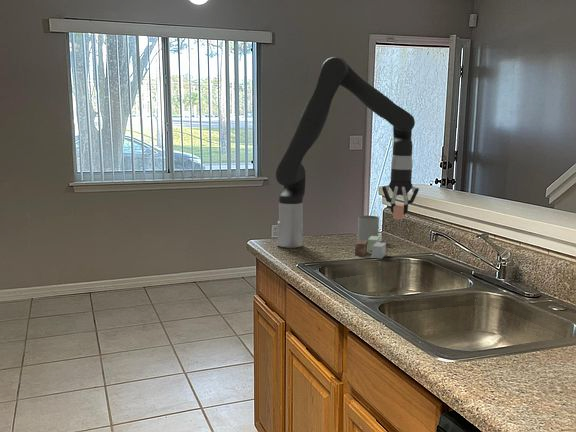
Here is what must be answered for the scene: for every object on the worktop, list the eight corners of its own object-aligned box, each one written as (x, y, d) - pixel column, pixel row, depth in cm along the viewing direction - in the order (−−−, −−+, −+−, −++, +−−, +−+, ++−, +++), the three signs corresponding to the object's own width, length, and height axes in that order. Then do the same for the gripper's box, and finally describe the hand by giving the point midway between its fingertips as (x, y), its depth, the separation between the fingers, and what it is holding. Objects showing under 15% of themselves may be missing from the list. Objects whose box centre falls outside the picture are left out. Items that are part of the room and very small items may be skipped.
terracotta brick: (393, 218, 206) (393, 206, 205) (395, 215, 212) (396, 203, 211) (402, 219, 205) (403, 207, 204) (404, 215, 211) (405, 204, 210)
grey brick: (372, 258, 202) (372, 245, 201) (376, 254, 208) (376, 242, 207) (381, 258, 200) (382, 246, 200) (385, 254, 207) (386, 242, 206)
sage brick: (367, 250, 213) (367, 239, 212) (370, 247, 220) (371, 235, 219) (376, 251, 212) (377, 240, 211) (379, 247, 219) (380, 236, 218)
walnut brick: (355, 255, 206) (355, 243, 205) (358, 251, 212) (358, 239, 211) (364, 256, 205) (364, 244, 204) (367, 251, 211) (367, 240, 210)
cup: (353, 239, 233) (354, 216, 231) (370, 238, 236) (371, 214, 234) (364, 243, 225) (365, 219, 223) (382, 242, 228) (382, 218, 227)
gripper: (380, 167, 204) (378, 214, 207) (420, 169, 200) (417, 216, 202) (384, 166, 211) (381, 211, 214) (422, 167, 207) (419, 213, 209)
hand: (399, 213), depth 208 cm, fingers closed on terracotta brick, 3 cm apart
